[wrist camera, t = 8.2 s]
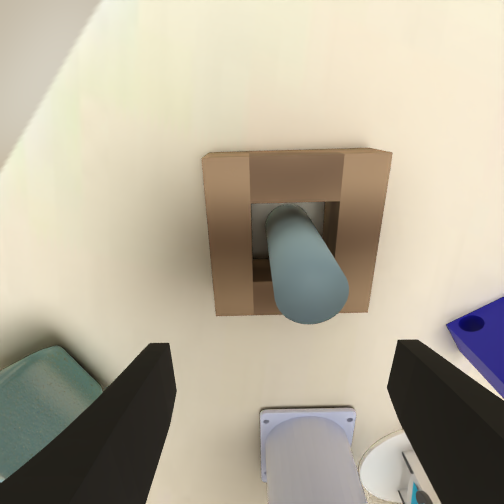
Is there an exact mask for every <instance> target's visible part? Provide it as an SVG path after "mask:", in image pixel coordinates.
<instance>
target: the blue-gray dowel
mask: <svg viewBox="0 0 504 504" xmlns="http://www.w3.org/2000/svg"><path fill="white" fill-rule="evenodd" d="M265 229H266V236H267V244H268V252H269V259H270V267H271V274H272V282H273V290H274V297H275V302H276V305H277V307H278V309H279V310H280V312H281V313H282V314H283V315H284V316H285V317H286V318H288V319H290V320H292V321H294V322H297V323H301V324H317V323H321V322H324V321H327V320H329V319H331V318H332V317H334V316H335V315H336V314H338V313H339V312H340V311H341V309H342V308H343V307H344V305H345V303H346V301H347V299H348V295H349V285H348V281H347V278H346V276H345V275H344V273H343V271H342V270H341V268H340V267H339V265H338V263H337V262H336V260H335V258H334V257H333V255H332V254H331V252H330V250H329V249H328V247H327V245H326V244H325V242H324V241H323V239H322V237H321V236H320V234H319V232H318V231H317V229H316V228H315V226H314V224H313V223H312V221H311V220H310V218H309V216H308V215H307V213H306V212H305V211H304V210H303V209H302V208H300V207H299V206H296V205H292V204H286V205H281V206H279V207H277V208H275V209H274V210H273V211H272V212H271V213H270V214H269V216H268V217H267V220H266V225H265Z"/></svg>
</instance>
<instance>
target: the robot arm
mask: <svg viewBox="0 0 504 504" xmlns="http://www.w3.org/2000/svg"><path fill="white" fill-rule="evenodd" d="M387 390H388V392H389V395H390V398H391V401H392V404H393V406H394V409H395V411H396V414H397V417H398V419H399V422H400V424H401V426H402V428H403V430H404V432H405V434H406V436H407V438H408V440H409V442H410V444H411V446H412V448H413V450H414V452H415V454H416V456H417V457H418V459H419V461H420V463H421V465H422V467H423V469H424V471H425V473H426V475H427V477H428V479H429V481H430V483H431V485H432V487H433V489H434V491H435V493H436V494H437V496H438V498H439V500H440V502H441V504H504V401H503V400H502V399H501V398H499V397H498V396H496V395H495V394H493V393H492V392H490V391H489V390H488V389H486V388H485V387H483V386H482V385H481V384H479V383H478V382H476V381H475V380H473V379H472V378H471V377H469V376H468V375H467V374H465V373H464V372H462V371H461V370H460V369H458V368H457V367H455V366H454V365H453V364H451V363H450V362H449V361H447V360H446V359H444V358H443V357H442V356H440V355H439V354H438V353H436V352H435V351H433V350H432V349H431V348H429V347H428V346H426V345H425V344H423V343H422V342H420V341H419V340H398V341H397V346H396V350H395V355H394V359H393V363H392V368H391V372H390V377H389V381H388V385H387ZM176 392H177V390H176V383H175V377H174V371H173V364H172V358H171V352H170V345H169V343H150V344H149V345H148V346H147V347H146V348H145V349H144V350H143V351H142V352H141V353H140V354H139V355H138V356H137V357H136V358H135V359H134V360H133V361H132V362H131V364H130V365H129V366H128V367H127V368H126V369H125V370H124V371H123V372H122V373H121V374H120V375H119V376H118V377H117V378H116V379H115V380H114V381H113V382H112V383H111V385H110V386H109V387H108V388H107V389H106V390H105V391H104V392H103V393H102V394H101V395H100V396H99V397H98V398H97V399H96V400H95V401H94V402H93V403H92V404H91V405H90V406H89V407H88V408H87V409H85V410H84V411H83V412H82V413H81V414H80V415H79V416H78V417H77V418H76V419H75V420H74V421H73V422H72V423H71V424H70V425H69V426H67V427H66V428H65V429H64V430H63V431H62V432H61V433H60V434H59V435H58V436H57V437H55V438H54V439H53V440H52V441H51V442H50V443H49V444H48V445H46V446H45V447H44V448H43V449H42V450H41V451H39V452H38V453H37V454H36V455H35V456H33V457H32V458H31V459H30V460H29V461H27V462H26V463H25V464H24V465H23V466H21V467H20V468H19V469H18V470H17V471H15V472H14V473H13V474H12V475H10V476H9V477H8V478H6V479H5V480H4V481H3V482H1V483H0V504H146V500H147V497H148V494H149V491H150V488H151V484H152V481H153V478H154V475H155V472H156V468H157V465H158V462H159V459H160V456H161V452H162V449H163V446H164V443H165V439H166V436H167V433H168V430H169V426H170V422H171V417H172V413H173V408H174V402H175V397H176ZM355 420H356V412H355V410H354V409H353V408H313V409H268V410H263V411H261V412H260V438H261V479H262V481H263V482H267V495H268V504H367V500H366V497H365V494H364V491H363V487H362V484H361V481H360V478H359V474H358V471H357V468H356V464H355V461H354V458H353V455H352V451H351V444H352V438H353V432H354V426H355Z"/></svg>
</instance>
